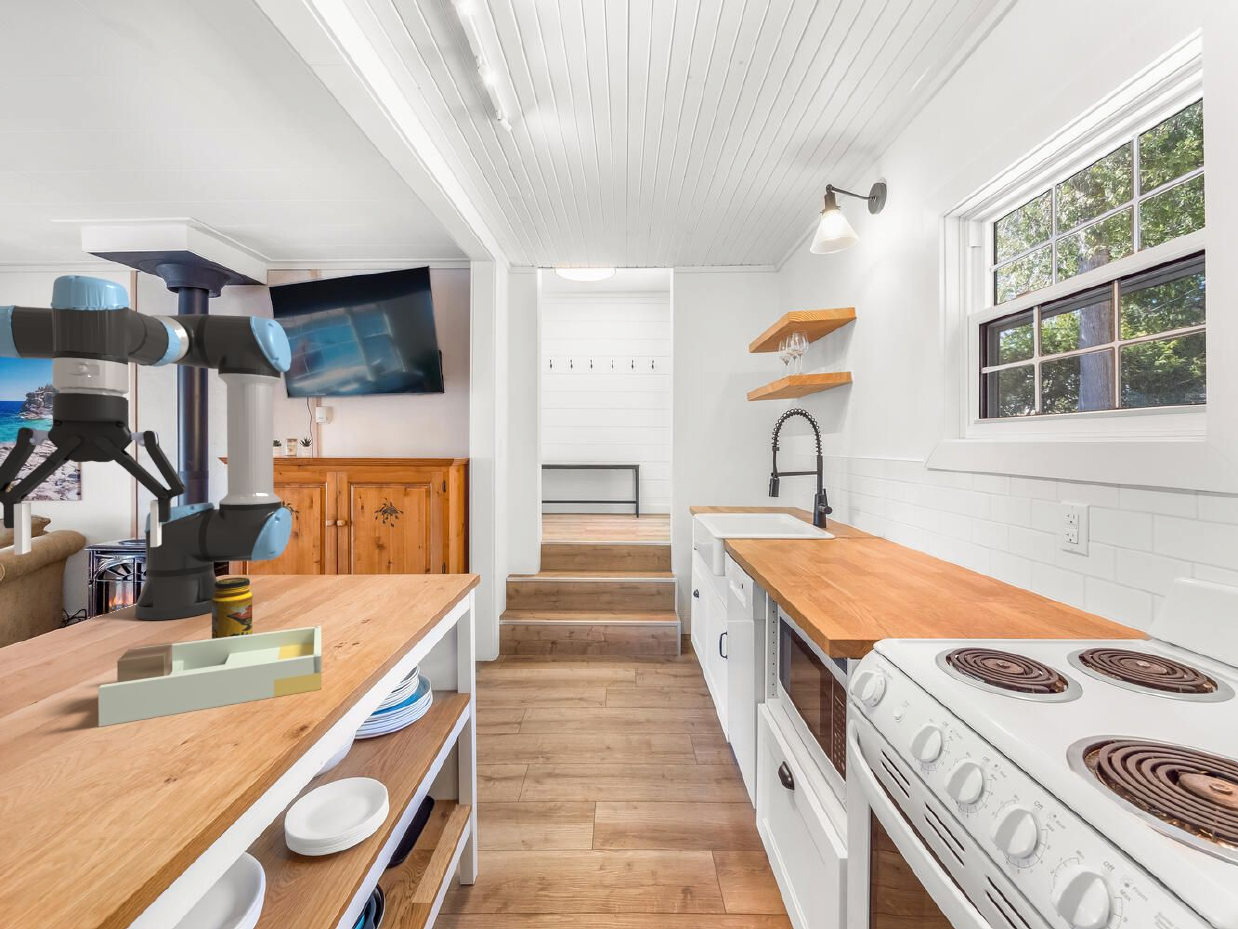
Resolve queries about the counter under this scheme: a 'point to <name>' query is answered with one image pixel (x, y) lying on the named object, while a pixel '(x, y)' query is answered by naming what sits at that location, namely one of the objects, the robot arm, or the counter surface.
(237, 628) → the condiment
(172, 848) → the counter surface
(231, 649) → the box
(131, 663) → the block
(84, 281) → the robot arm
